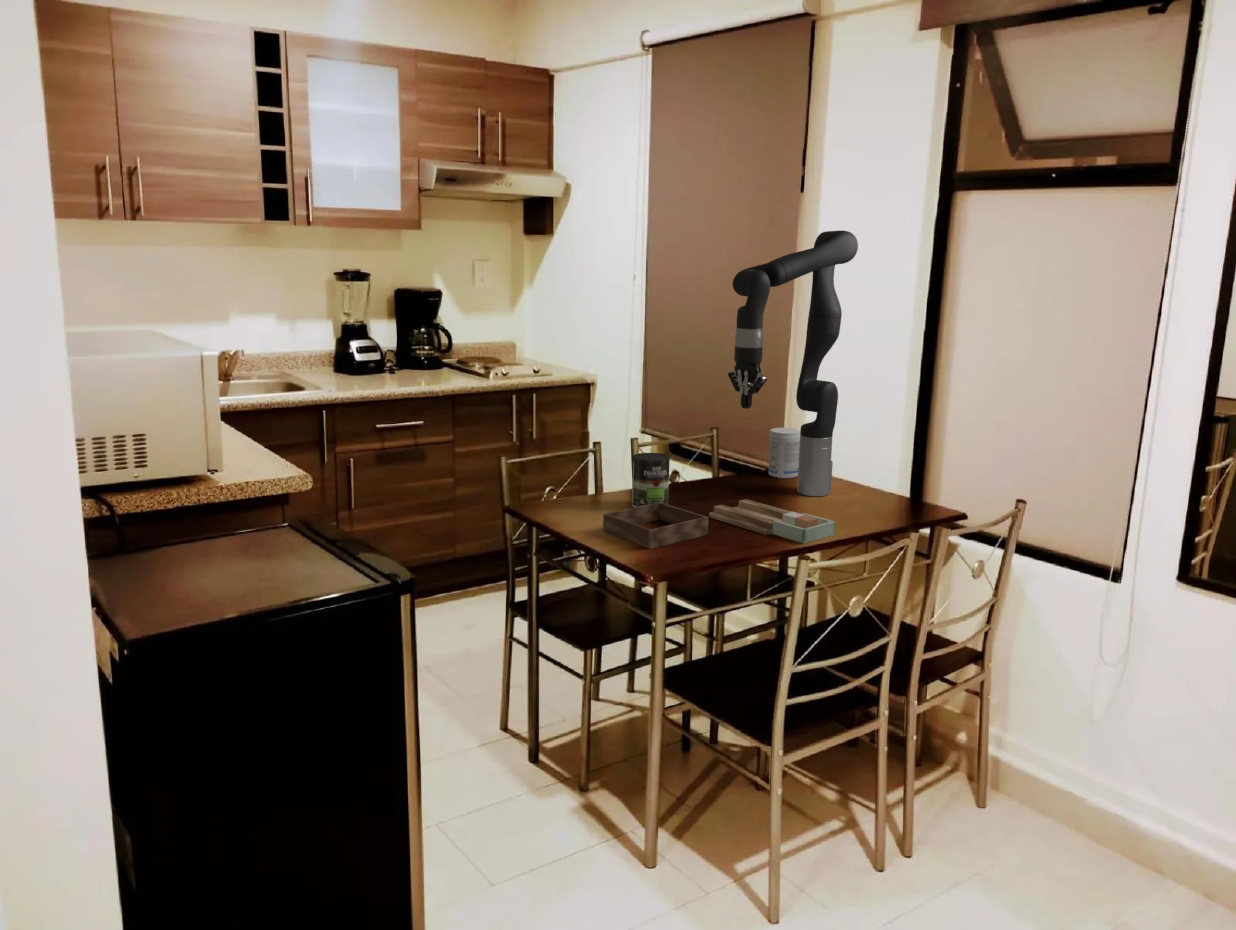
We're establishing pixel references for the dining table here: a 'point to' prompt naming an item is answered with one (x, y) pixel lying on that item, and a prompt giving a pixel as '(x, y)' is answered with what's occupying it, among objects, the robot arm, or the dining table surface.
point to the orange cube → (806, 521)
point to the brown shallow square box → (680, 530)
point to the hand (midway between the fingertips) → (745, 408)
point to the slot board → (745, 524)
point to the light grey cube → (790, 518)
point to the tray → (805, 530)
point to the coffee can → (650, 479)
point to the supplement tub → (784, 452)
